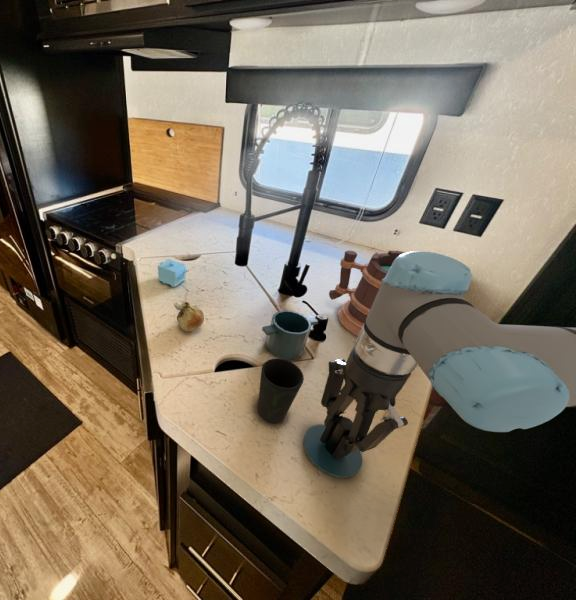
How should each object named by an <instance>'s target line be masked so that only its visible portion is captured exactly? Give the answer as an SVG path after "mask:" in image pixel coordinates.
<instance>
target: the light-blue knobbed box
mask: <svg viewBox="0 0 576 600" xmlns="http://www.w3.org/2000/svg"><path fill="white" fill-rule="evenodd" d="M187 272H190V270H189V269H187V265H186V264H184V263H181V262H179V261H176V260H173V259H167V260H165V261H164V262H160V263H159V265H158V266H157V277H158V281H160V282H162V284H167V285H170V287H171V288H175V287H177V286H178V285H179V284H181V283H182V282H183V281H185V280H187V279H186V277H187V275H186V274H187Z"/></svg>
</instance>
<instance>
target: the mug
mask: <svg viewBox="0 0 576 600" xmlns="http://www.w3.org/2000/svg"><path fill="white" fill-rule="evenodd" d="M406 252H407V251H402V250H388V252H387V253H385V252H383V253H378V252H375V253H373V254H372V256H371V258H370V259H369V262H367V263H363V264H362V263H358V262H356V258H358V253H357V252H356V251H354V250H346V251H344V255H343V257H342V258H340V263H339V265H340V274H339V283H337V284H336V285H335V288H334V289H331V290H329V291H328V296H329V298H330V300H333V301H334V300H336V299H339V298H341V297H342V296H344V295H346V294H347V295H348V297H349V299H348V300H347V301H346V302H344V304H343V305H342V306H341V307H340V308H339V310H338V313H337V317H338V321H339V322H340V324H341V325H342V327H344V328H345V329H346V330H347V331H349V332H350V333H351V334H353V335H354V336H357V337H358V336H359V334H360V332H361V329H362V327H363V325H364V323H365V321H366V318H367V316H368V314H369V311H370V309H371V307H372V304H373V302H374V300H375V297H376V295H377V293H378V291H379V288H380V286H381V284H382V279H383V278H385V277H386V275H387V273H388V271H389V269H390V267H391V265H392V264H393V262H394V260H395V259H396V258H397V257H398V256H399V255H401V254H403V253H406ZM352 269H356V270H359V271H360V272H361V275H362V276H361V278H360V280H359V282H358V284H357V286H356V288H349V286H350V279H351V273H352Z"/></svg>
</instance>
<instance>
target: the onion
mask: <svg viewBox="0 0 576 600" xmlns="http://www.w3.org/2000/svg"><path fill="white" fill-rule="evenodd" d="M173 307H174V308H175V309H176V310H177V311H178V314H177V316H176V321H177V323H178V326H179V327H180V329H182V331H183V330H184V331H185V332H193V331H196V330H199V329H200V327H201V326H202V325H203V323H204V321H205V314H204V312H203V310H202V309H201V308H199V307H198V306H196V305H192V306H191V304H190V302H189V301H184V302H182V303H181V305H180V304H178V302H174V303H173Z"/></svg>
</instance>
